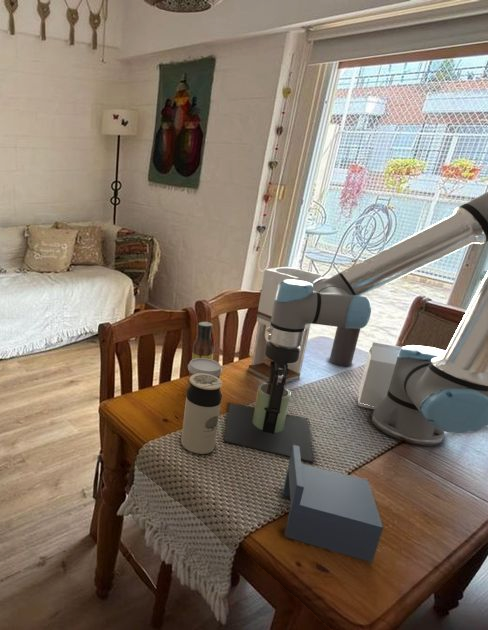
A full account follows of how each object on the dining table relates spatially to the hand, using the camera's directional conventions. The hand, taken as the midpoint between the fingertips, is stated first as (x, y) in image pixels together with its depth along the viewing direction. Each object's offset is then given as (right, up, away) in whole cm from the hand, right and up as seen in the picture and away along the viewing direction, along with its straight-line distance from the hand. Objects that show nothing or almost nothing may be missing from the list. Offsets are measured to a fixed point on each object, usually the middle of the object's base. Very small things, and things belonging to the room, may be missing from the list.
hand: (268, 423), depth 115 cm
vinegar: (+44, +11, +41) cm, 61 cm away
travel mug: (-20, -4, -6) cm, 21 cm away
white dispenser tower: (+16, +8, +31) cm, 36 cm away
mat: (0, -2, +1) cm, 2 cm away
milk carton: (+37, +2, +14) cm, 39 cm away
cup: (0, 0, 0) cm, 0 cm away
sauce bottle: (-10, +7, +26) cm, 28 cm away
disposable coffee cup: (-13, +3, +14) cm, 20 cm away
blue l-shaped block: (-3, -13, -29) cm, 32 cm away
